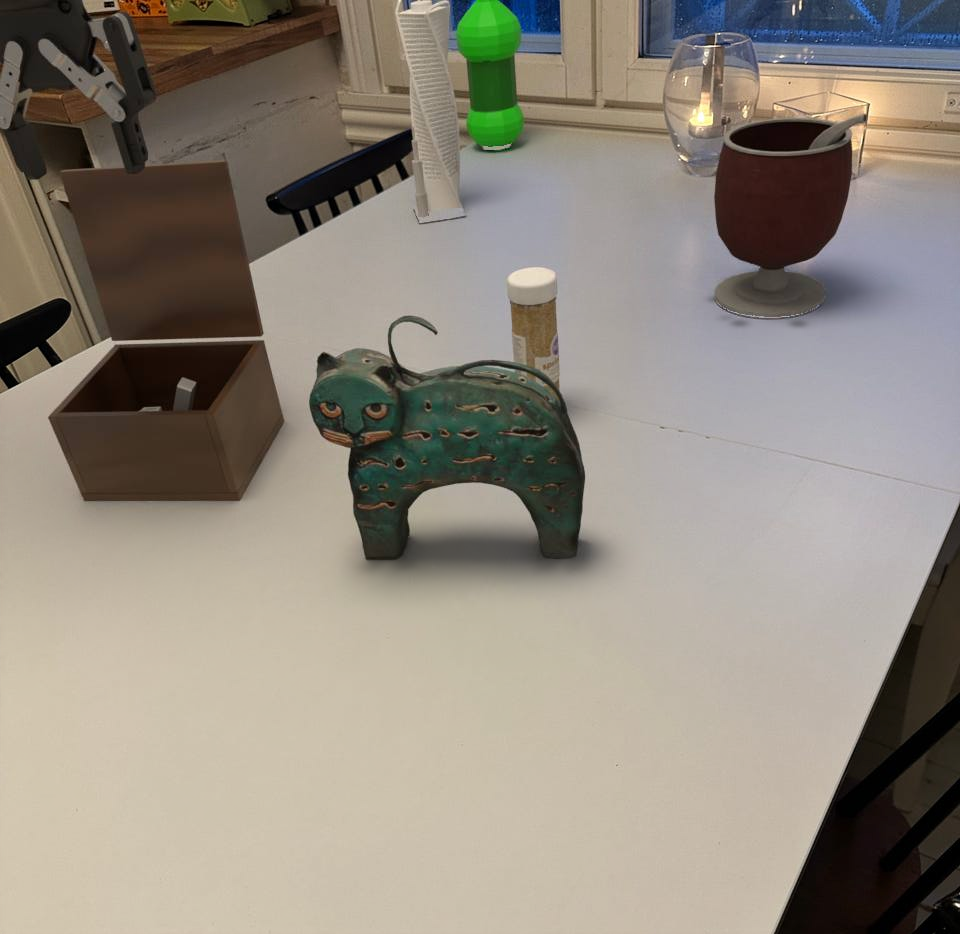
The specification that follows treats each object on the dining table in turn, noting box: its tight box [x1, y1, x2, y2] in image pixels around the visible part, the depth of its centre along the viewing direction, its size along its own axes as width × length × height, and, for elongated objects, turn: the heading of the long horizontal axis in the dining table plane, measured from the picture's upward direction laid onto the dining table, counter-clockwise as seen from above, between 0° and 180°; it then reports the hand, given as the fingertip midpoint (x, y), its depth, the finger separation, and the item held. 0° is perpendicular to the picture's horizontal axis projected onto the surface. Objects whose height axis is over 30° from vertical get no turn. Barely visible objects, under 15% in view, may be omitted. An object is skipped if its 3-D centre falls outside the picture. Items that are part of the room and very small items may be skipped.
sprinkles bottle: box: [506, 266, 561, 402], centre depth 91 cm, size 5×5×13 cm
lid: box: [59, 159, 265, 342], centre depth 89 cm, size 15×16×1 cm
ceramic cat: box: [308, 315, 586, 560], centre depth 73 cm, size 20×6×20 cm, turn 82°
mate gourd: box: [713, 113, 868, 320], centre depth 103 cm, size 16×14×20 cm
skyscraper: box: [394, 0, 467, 225], centre depth 134 cm, size 8×8×28 cm
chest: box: [47, 339, 285, 501], centre depth 92 cm, size 15×16×9 cm
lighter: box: [139, 377, 197, 411], centre depth 91 cm, size 7×2×8 cm, turn 86°
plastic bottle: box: [455, 0, 525, 152], centre depth 158 cm, size 10×10×25 cm
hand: (86, 174), depth 76 cm, fingers open, 8 cm apart
